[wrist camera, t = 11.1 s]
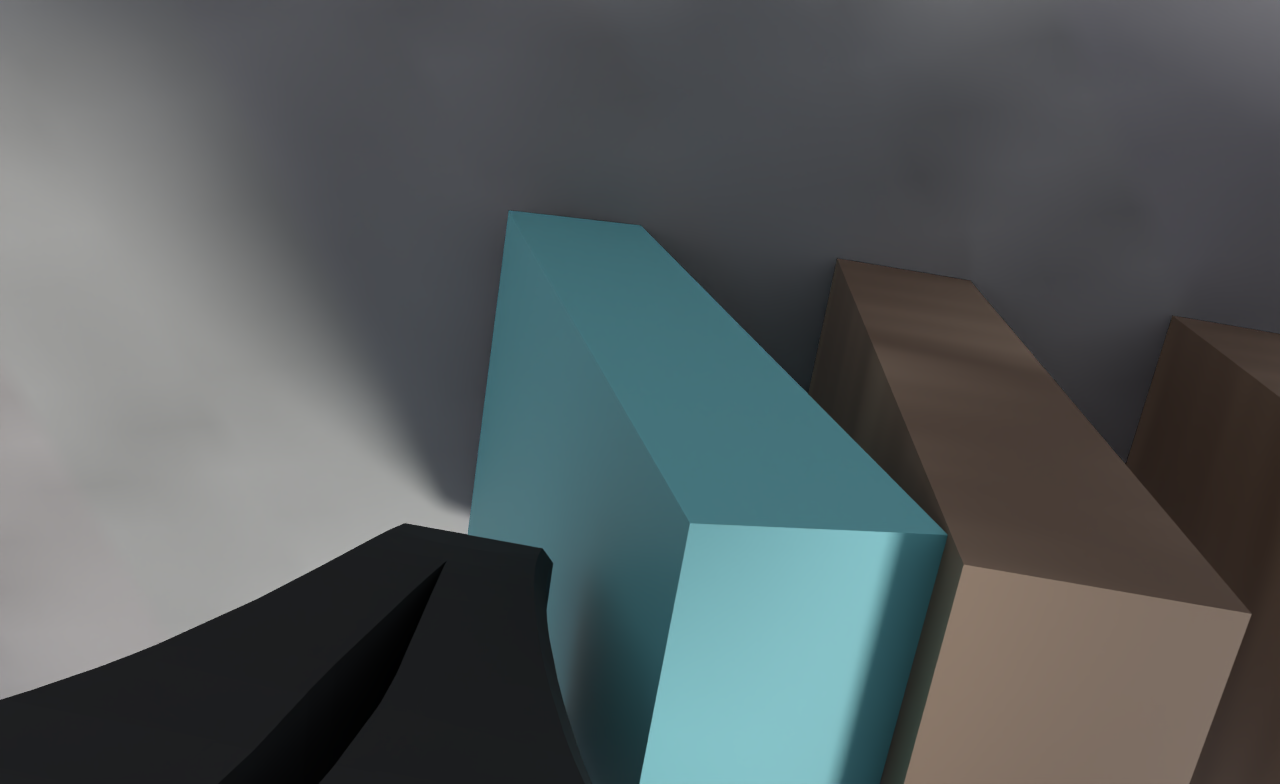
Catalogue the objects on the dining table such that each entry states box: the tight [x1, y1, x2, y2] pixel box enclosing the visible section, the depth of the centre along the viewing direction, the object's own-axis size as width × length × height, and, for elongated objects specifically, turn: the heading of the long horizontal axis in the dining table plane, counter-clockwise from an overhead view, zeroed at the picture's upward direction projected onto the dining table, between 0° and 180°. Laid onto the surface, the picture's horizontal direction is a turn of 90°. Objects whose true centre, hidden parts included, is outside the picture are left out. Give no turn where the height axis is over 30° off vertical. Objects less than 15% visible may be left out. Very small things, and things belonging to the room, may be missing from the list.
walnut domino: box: [808, 258, 1252, 784], centre depth 12 cm, size 2×5×9 cm, turn 171°
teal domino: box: [468, 210, 948, 784], centre depth 13 cm, size 2×5×9 cm, turn 170°
